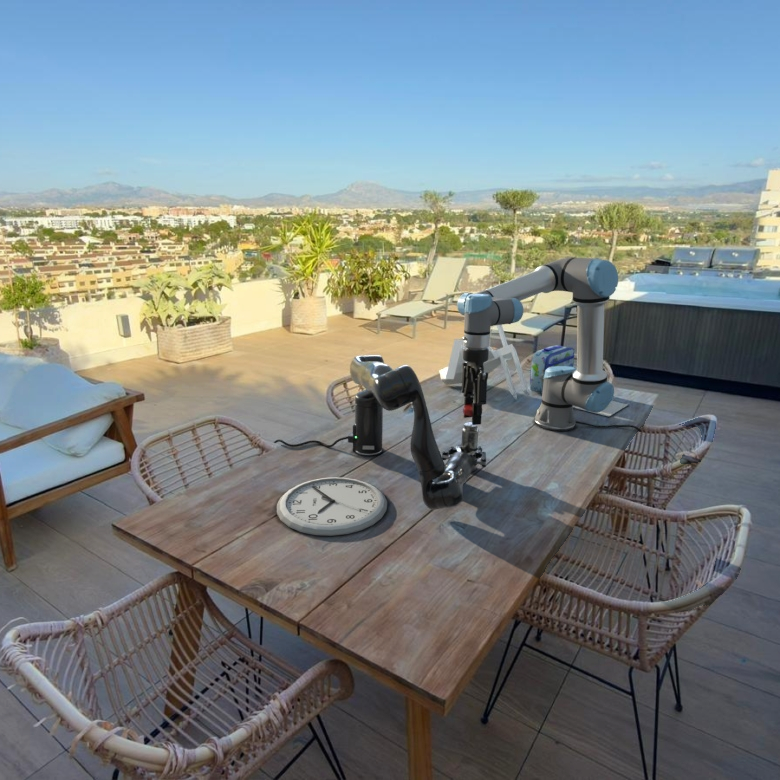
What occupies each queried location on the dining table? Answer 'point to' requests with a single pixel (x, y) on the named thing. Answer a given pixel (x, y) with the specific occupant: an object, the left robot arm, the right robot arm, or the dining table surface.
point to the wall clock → (331, 506)
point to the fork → (408, 406)
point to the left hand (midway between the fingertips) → (470, 447)
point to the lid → (468, 410)
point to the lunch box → (548, 363)
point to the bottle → (469, 438)
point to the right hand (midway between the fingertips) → (472, 420)
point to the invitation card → (609, 408)
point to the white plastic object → (485, 363)
